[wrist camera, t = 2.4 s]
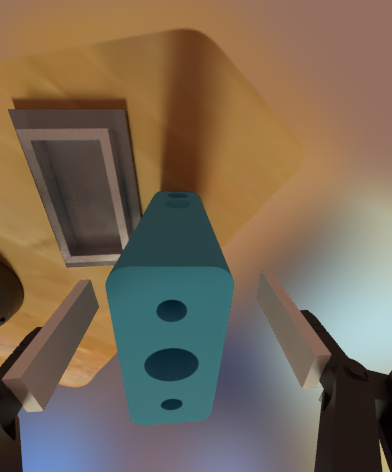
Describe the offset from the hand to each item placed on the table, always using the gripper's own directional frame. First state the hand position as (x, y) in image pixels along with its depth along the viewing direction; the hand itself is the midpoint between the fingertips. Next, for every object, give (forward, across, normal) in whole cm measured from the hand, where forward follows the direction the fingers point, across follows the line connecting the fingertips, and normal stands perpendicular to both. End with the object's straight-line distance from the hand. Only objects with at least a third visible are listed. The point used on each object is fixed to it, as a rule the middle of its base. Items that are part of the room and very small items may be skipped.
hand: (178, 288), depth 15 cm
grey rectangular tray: (+14, -12, +4) cm, 19 cm away
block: (+14, 0, 0) cm, 15 cm away
